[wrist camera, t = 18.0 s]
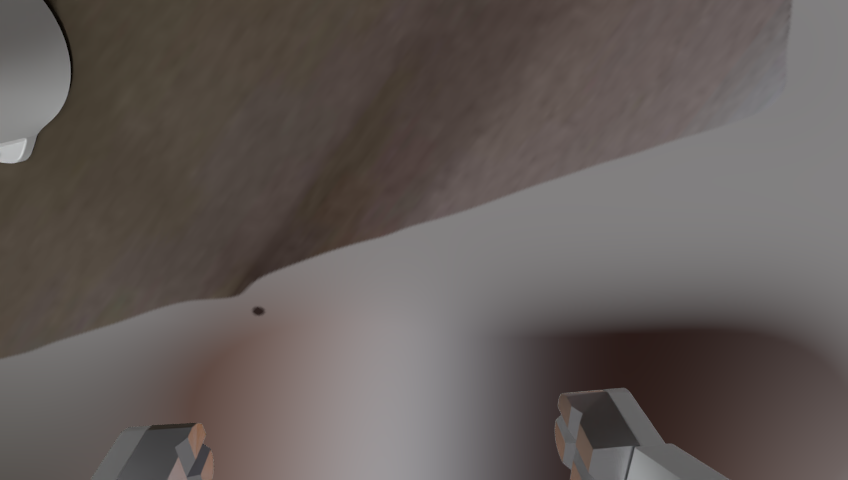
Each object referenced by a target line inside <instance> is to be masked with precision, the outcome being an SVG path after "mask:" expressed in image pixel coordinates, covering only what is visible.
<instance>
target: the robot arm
mask: <svg viewBox="0 0 848 480" xmlns="http://www.w3.org/2000/svg"><path fill="white" fill-rule="evenodd" d="M70 79H71V67H70V58H69V53H68V49H67V45H66V42H65V39H64V36H63V34H62V31H61V29H60V27H59V25H58V23H57V21H56V19H55V17H54V16H53V14H52V12H51V11H50V9H49V8H48V6H47V5H46V3H45V2H44V1H43V0H0V162H3V163H17V162H22V161H25V160H27V159H28V158H29V156H30V155H31V153H32V150H33V148H34V144H35V141H36V137H37V134H38V133H39V132H40V130H41V129H42V128H43V127H44V126H45V125H47V124H48V123H49V122H50V121H51V120H52V119H53V118H54V117H55V116H56V115H57V114H58V112H59V111H60V110H61V108H62V106H63V105H64V103H65V100H66V98H67V95H68V91H69V87H70ZM558 408H559V410H560V412H561V415H560V416H559V417H558V419H557V420H556V422H555V439H556V445H557V449H558V453H559V455H560V458H561V460H562V462H563V464H565V465H566V466H568V468H570V469H571V477H570V480H730V479H728V478H726V477H725V476H723V475H722V474H720V473H718V472H717V471H715V470H713V469H712V468H710V467H709V466H707V465H706V464H704V463H702V462H701V461H699V460H698V459H696V458H694V457H693V456H691V455H690V454H688V453H686V452H685V451H683V450H681V449H680V448H678V447H677V446H675V445H673V444H665V443H664V441H663V440H662V438H661V437H660V435H659V434H658V432H657V431H656V429H655V428H654V427H653V425H652V424H651V422H650V421H649V419H648V418H647V416H646V415H645V414H644V412H643V411H642V409H641V408H640V407H639V405H638V404H637V402H636V401H635V399H634V398H633V396H632V395H631V393H630V392H629V391H628V390H627V389H625V388H617V389H605V390H595V391H583V392H573V393H561V395H560V397H559V400H558ZM205 436H206V433H205V430H204V427H203V425H202V424H200V423H187V424H168V425H152V426H140V427H128V428H127V429H125V430H124V431H123V432H122V433H121V434H120V435H119V437H118V438H117V440H116V442H115V443H114V444H113V446H112V447H111V449H110V451H109V452H108V454H107V455H106V457H105V458H104V460H103V461H102V463H101V464H100V466H99V468H98V469H97V471H96V472H95V474H94V475H93V477H92V478H91V480H212V477H213V470H214V461H213V455H212V452H211V449H210V448H209V447H207V446H206V445H204V444H203V441H204V439H205Z"/></svg>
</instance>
